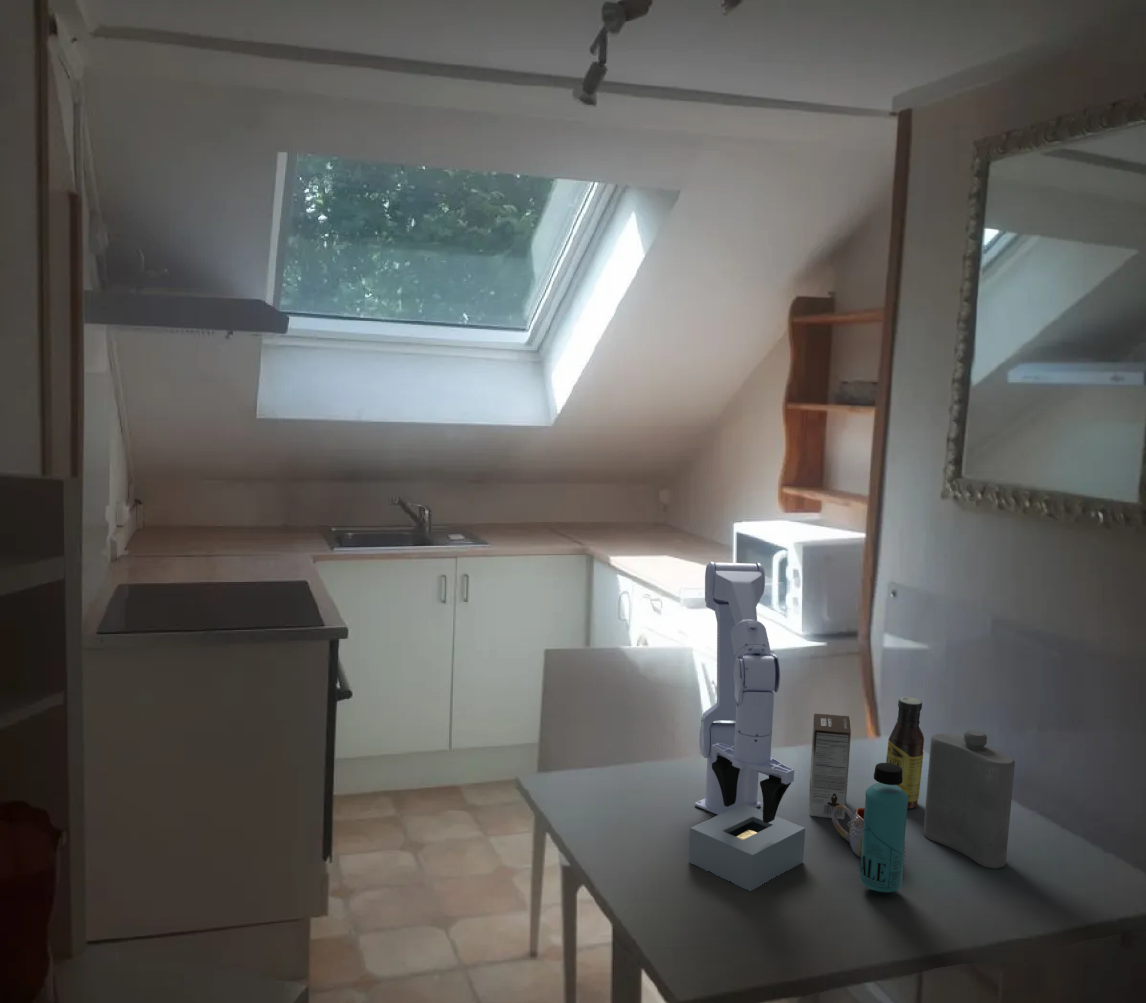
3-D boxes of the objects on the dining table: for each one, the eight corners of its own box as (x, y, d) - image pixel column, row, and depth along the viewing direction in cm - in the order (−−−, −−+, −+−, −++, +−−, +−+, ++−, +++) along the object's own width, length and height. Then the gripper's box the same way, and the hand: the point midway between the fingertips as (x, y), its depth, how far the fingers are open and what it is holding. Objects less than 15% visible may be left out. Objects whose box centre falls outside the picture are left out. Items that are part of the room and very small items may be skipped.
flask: (1015, 863, 168) (1026, 745, 165) (992, 872, 165) (1003, 751, 162) (939, 827, 181) (949, 716, 178) (917, 834, 178) (926, 721, 175)
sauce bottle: (877, 796, 193) (885, 693, 190) (910, 796, 193) (918, 693, 190) (891, 811, 186) (899, 704, 183) (924, 811, 187) (933, 705, 184)
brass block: (748, 853, 168) (749, 829, 167) (758, 857, 166) (759, 833, 166) (733, 861, 165) (734, 837, 164) (743, 865, 164) (745, 841, 163)
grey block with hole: (742, 836, 175) (744, 803, 174) (803, 862, 166) (805, 828, 165) (688, 862, 165) (690, 827, 164) (750, 891, 156) (752, 855, 156)
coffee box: (807, 795, 192) (813, 711, 190) (843, 799, 191) (849, 715, 189) (808, 816, 183) (814, 729, 181) (846, 820, 182) (852, 732, 180)
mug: (901, 858, 169) (905, 819, 168) (872, 867, 165) (875, 827, 165) (847, 828, 179) (850, 791, 178) (818, 836, 176) (821, 799, 175)
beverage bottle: (902, 885, 160) (912, 761, 157) (901, 906, 153) (911, 777, 151) (859, 877, 162) (867, 754, 159) (855, 898, 156) (865, 770, 153)
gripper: (701, 723, 165) (697, 804, 167) (777, 749, 155) (772, 836, 157) (728, 713, 170) (724, 792, 172) (804, 738, 160) (798, 822, 161)
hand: (748, 812), depth 164 cm, fingers open, 7 cm apart
